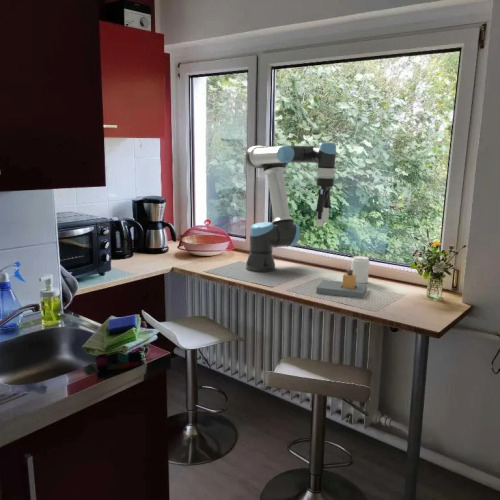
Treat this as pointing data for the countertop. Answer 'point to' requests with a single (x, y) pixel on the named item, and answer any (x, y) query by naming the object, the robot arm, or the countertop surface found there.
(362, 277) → the beverage can
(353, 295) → the socket block
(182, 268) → the countertop surface
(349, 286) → the orange bottle
